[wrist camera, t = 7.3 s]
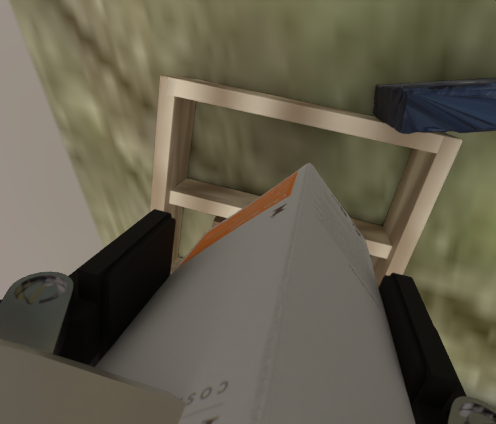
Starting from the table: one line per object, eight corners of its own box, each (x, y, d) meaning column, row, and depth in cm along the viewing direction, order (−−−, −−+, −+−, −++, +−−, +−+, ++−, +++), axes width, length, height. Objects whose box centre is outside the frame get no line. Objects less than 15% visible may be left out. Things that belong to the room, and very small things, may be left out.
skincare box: (309, 156, 13) (252, 516, 2) (367, 239, 14) (552, 834, 3) (199, 231, 15) (-107, 598, 4) (254, 299, 16) (110, 763, 5)
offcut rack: (437, 129, 26) (463, 140, 21) (360, 316, 34) (367, 353, 29) (185, 76, 28) (160, 75, 24) (166, 263, 36) (144, 289, 31)
